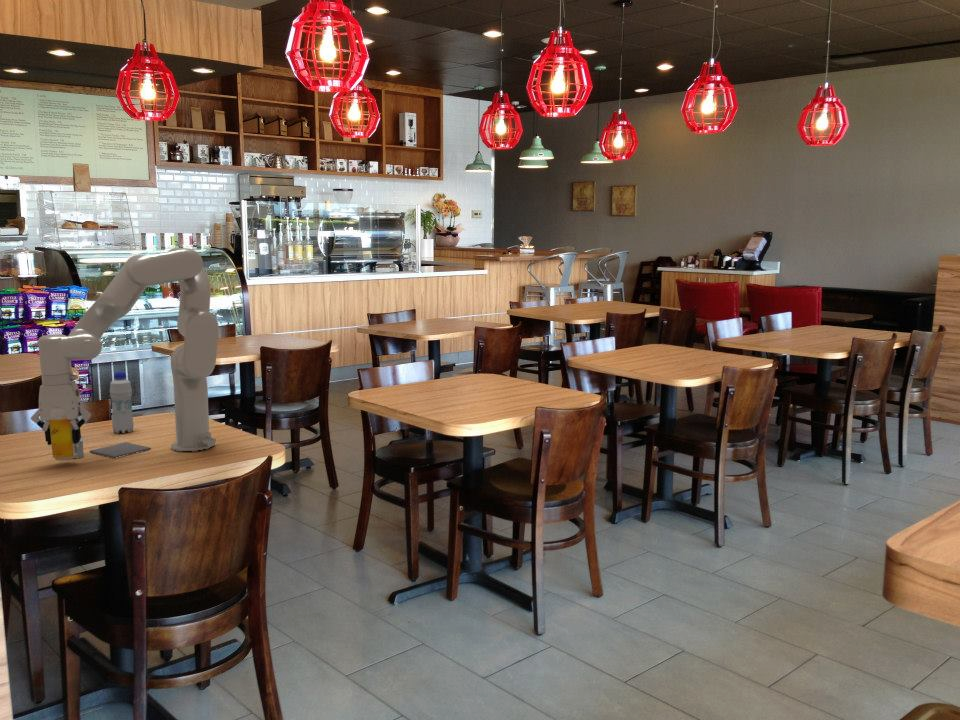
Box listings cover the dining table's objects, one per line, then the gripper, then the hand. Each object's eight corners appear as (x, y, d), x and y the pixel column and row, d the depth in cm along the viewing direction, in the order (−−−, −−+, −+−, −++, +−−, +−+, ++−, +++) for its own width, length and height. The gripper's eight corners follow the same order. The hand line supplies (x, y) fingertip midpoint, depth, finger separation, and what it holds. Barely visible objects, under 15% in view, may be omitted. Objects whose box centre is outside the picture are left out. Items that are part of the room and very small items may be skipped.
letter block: (64, 455, 235) (63, 438, 234) (83, 453, 237) (82, 437, 237) (64, 459, 231) (63, 442, 230) (83, 457, 233) (82, 441, 232)
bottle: (112, 430, 265) (108, 370, 262) (134, 428, 268) (130, 369, 265) (112, 435, 259) (108, 373, 256) (134, 433, 262) (131, 372, 259)
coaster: (150, 449, 242) (150, 447, 242) (114, 458, 232) (114, 456, 232) (126, 443, 248) (125, 442, 248) (89, 452, 238) (89, 450, 238)
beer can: (55, 456, 227) (49, 404, 225) (79, 454, 229) (73, 402, 226) (50, 462, 221) (45, 408, 219) (75, 459, 223) (70, 407, 221)
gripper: (95, 376, 226) (100, 438, 229) (29, 378, 224) (36, 441, 227) (86, 381, 219) (92, 445, 222) (18, 383, 217) (25, 448, 220)
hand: (63, 442), depth 224 cm, fingers closed on beer can, 6 cm apart
